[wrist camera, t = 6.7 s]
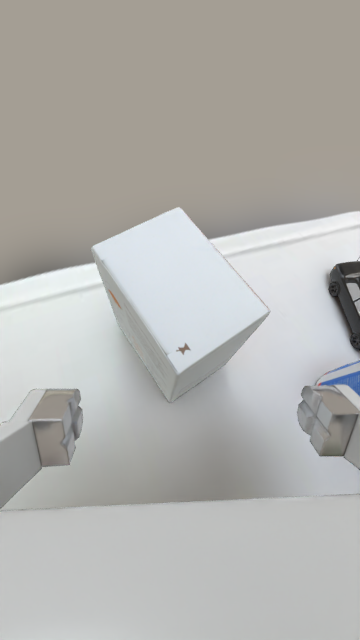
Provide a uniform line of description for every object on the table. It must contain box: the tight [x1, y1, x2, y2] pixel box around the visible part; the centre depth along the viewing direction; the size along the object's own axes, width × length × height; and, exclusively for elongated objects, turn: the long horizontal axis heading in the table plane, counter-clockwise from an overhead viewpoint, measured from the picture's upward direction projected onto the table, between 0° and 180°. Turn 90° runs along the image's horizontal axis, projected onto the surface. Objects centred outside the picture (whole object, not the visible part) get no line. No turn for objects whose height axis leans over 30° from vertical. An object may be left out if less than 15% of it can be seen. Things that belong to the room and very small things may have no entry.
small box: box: [91, 207, 270, 403], centre depth 18 cm, size 8×6×10 cm
